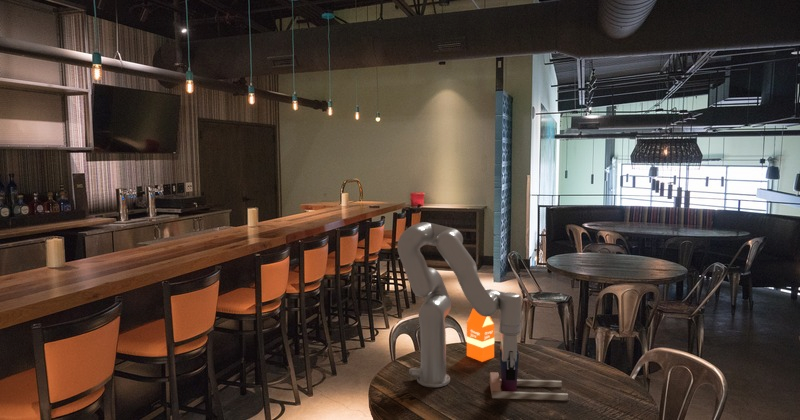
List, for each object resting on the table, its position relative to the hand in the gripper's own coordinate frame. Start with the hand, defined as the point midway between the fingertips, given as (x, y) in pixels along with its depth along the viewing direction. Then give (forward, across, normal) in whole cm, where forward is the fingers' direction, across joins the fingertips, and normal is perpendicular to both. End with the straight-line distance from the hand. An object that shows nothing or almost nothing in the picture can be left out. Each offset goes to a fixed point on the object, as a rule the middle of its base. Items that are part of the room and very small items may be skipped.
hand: (508, 373), depth 185 cm
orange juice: (+7, -32, -8) cm, 34 cm away
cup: (+7, 0, 0) cm, 7 cm away
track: (+6, 0, +7) cm, 9 cm away
